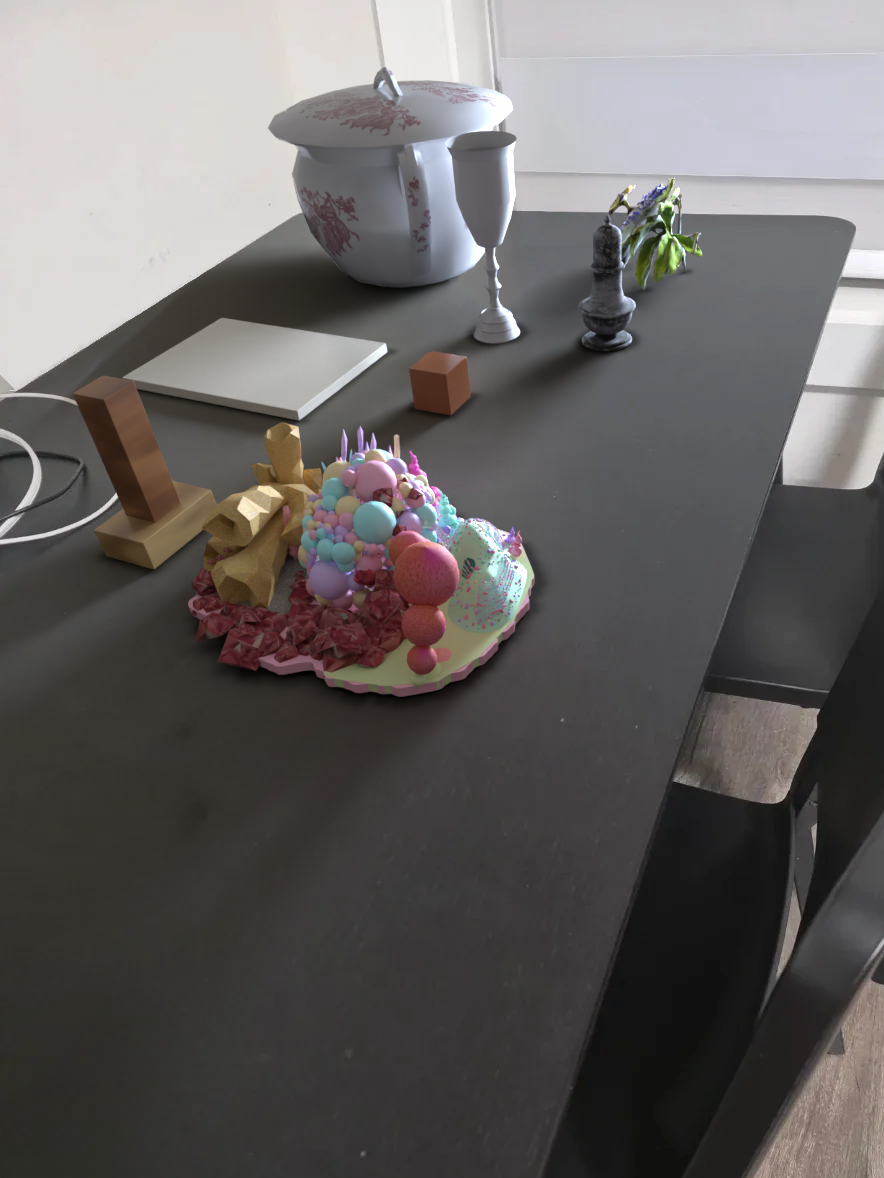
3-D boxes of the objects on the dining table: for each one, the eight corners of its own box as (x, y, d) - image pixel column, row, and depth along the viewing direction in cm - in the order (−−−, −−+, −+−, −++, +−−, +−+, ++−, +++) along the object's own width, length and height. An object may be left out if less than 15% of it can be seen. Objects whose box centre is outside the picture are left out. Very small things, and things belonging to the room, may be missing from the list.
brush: (106, 556, 71) (34, 406, 62) (174, 504, 76) (116, 359, 67) (154, 570, 69) (87, 418, 60) (220, 516, 74) (168, 368, 65)
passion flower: (622, 313, 113) (613, 211, 111) (709, 297, 110) (702, 192, 108) (605, 289, 102) (595, 175, 100) (702, 270, 99) (693, 152, 97)
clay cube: (414, 408, 86) (408, 368, 83) (435, 390, 88) (429, 350, 85) (451, 415, 84) (445, 374, 82) (471, 397, 87) (466, 356, 84)
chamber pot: (381, 223, 125) (352, 40, 110) (559, 243, 116) (552, 46, 101) (254, 297, 108) (199, 91, 93) (451, 327, 99) (424, 104, 84)
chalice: (465, 322, 100) (445, 133, 87) (526, 317, 100) (514, 128, 87) (466, 349, 94) (444, 153, 82) (530, 344, 95) (518, 148, 82)
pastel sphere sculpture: (138, 670, 61) (82, 558, 54) (278, 487, 77) (248, 382, 70) (493, 712, 56) (479, 596, 50) (564, 508, 72) (560, 399, 66)
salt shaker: (573, 350, 93) (570, 224, 84) (585, 327, 97) (583, 204, 88) (629, 353, 92) (632, 225, 83) (639, 330, 96) (642, 205, 87)
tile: (125, 386, 92) (121, 377, 92) (224, 326, 102) (221, 317, 102) (299, 420, 85) (296, 411, 84) (387, 352, 95) (386, 342, 94)
